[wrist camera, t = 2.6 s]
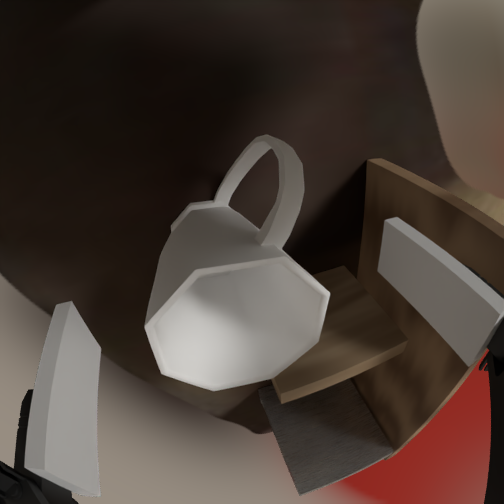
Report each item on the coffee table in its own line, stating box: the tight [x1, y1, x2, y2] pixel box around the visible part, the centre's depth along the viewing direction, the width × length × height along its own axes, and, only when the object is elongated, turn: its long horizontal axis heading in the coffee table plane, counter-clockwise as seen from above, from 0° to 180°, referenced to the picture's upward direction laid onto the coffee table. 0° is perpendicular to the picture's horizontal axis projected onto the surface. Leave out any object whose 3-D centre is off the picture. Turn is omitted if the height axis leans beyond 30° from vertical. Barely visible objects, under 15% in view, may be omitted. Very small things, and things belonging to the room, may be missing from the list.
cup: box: [144, 135, 330, 391], centre depth 13 cm, size 7×10×8 cm
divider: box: [271, 265, 408, 404], centre depth 17 cm, size 1×8×8 cm, turn 97°
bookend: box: [258, 378, 394, 496], centre depth 23 cm, size 2×9×12 cm, turn 97°
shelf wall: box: [350, 158, 504, 460], centre depth 19 cm, size 25×1×12 cm, turn 7°
